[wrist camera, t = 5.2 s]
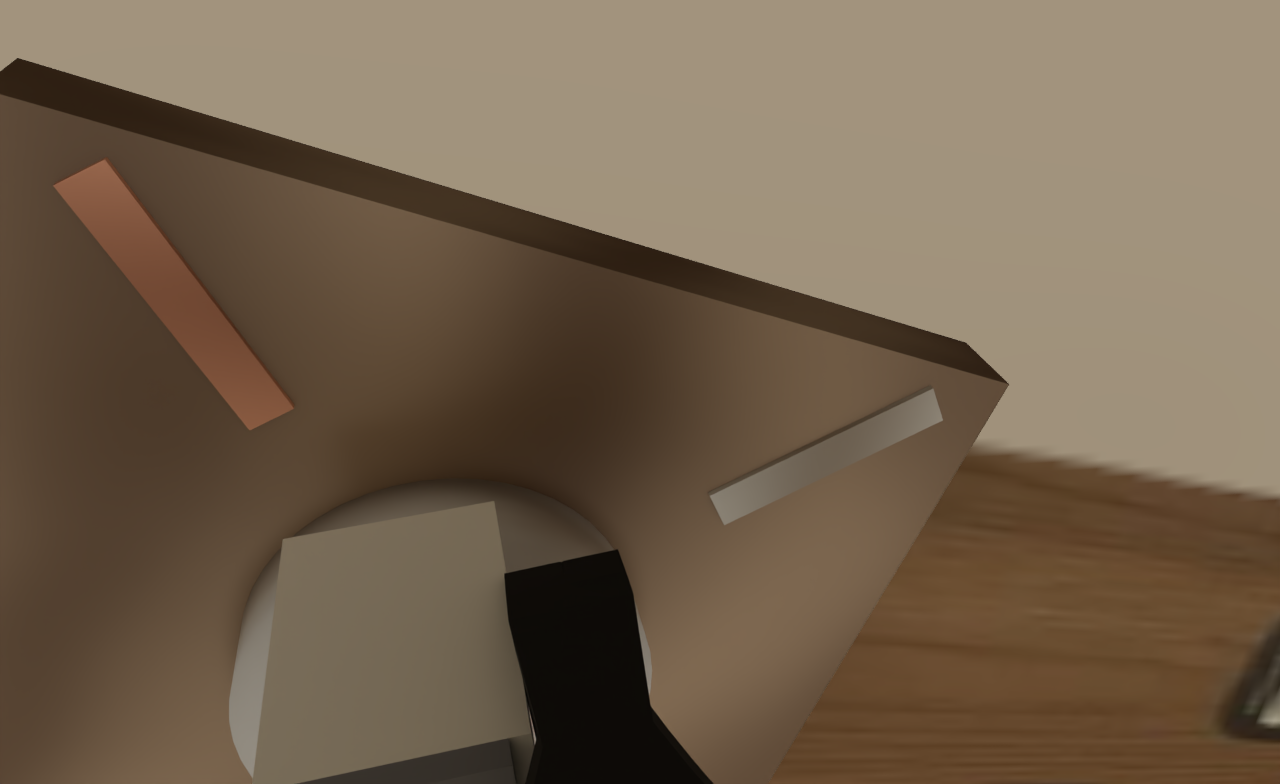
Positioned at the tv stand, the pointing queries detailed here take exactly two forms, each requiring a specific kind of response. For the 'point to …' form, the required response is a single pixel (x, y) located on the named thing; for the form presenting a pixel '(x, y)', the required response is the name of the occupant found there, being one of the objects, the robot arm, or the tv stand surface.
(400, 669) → the lock handle
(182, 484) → the base
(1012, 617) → the tv stand surface
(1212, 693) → the tv stand surface
